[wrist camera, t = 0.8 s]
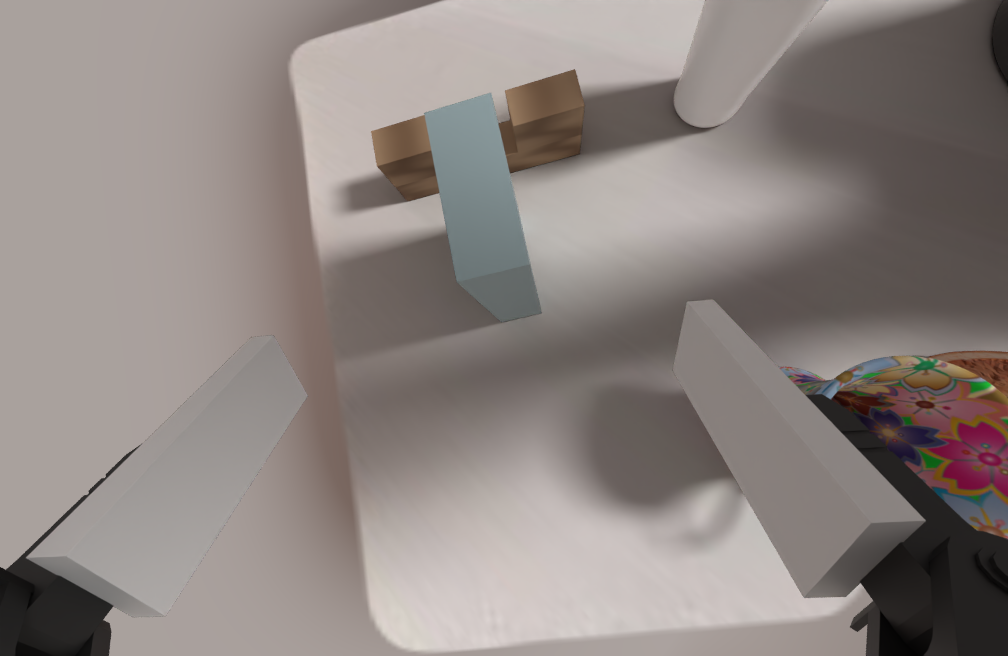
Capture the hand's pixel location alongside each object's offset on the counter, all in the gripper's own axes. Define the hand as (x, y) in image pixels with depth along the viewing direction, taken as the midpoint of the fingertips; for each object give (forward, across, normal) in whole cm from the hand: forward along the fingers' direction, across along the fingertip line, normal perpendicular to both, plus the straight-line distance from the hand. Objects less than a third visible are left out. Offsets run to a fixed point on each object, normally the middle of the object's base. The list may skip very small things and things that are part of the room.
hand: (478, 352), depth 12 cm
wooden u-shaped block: (+26, -1, +2) cm, 26 cm away
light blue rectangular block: (+19, +1, -6) cm, 20 cm away
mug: (+8, +20, -17) cm, 27 cm away
